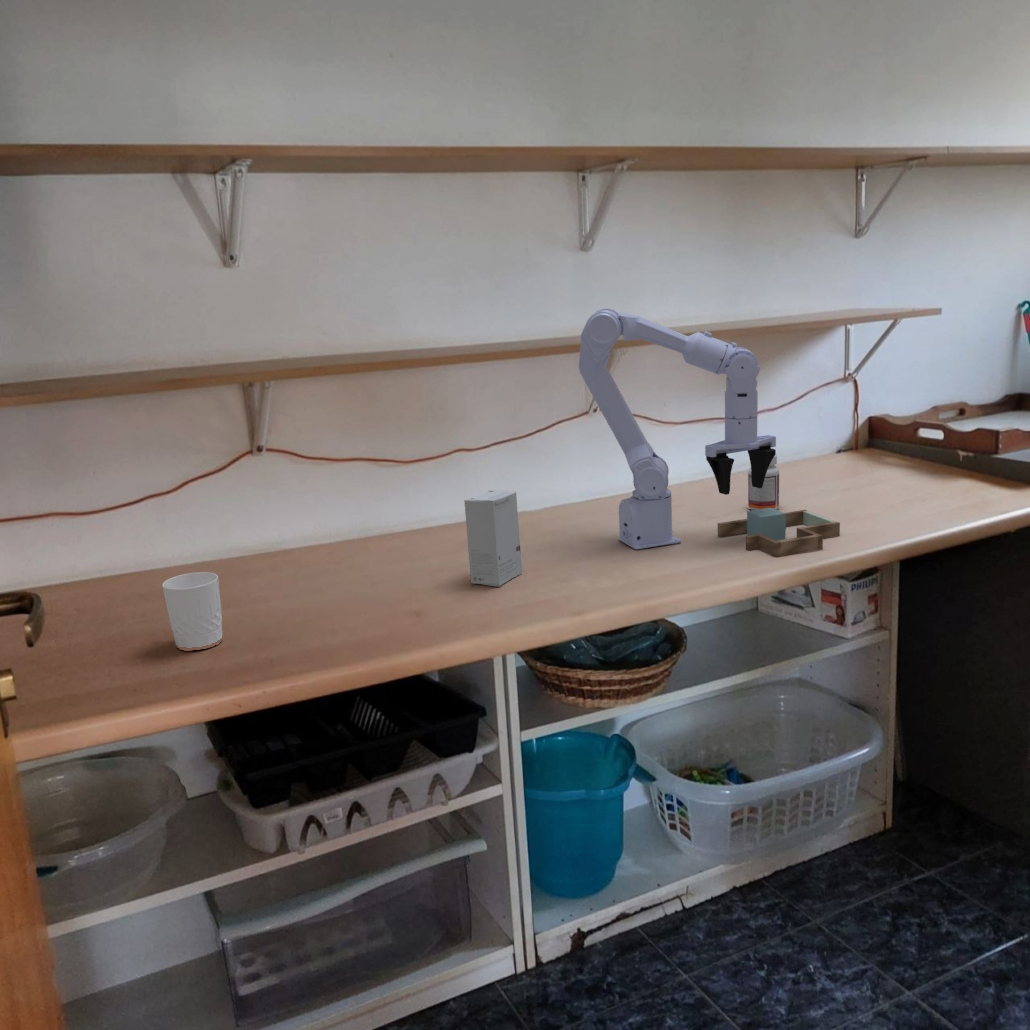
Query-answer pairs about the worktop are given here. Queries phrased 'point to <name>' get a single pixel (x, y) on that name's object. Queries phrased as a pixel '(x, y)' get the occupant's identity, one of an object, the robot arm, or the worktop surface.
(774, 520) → the teal block
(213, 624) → the white cup
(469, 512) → the skincare box
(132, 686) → the worktop surface
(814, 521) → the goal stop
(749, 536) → the brown frame
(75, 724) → the worktop surface
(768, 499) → the pill bottle
